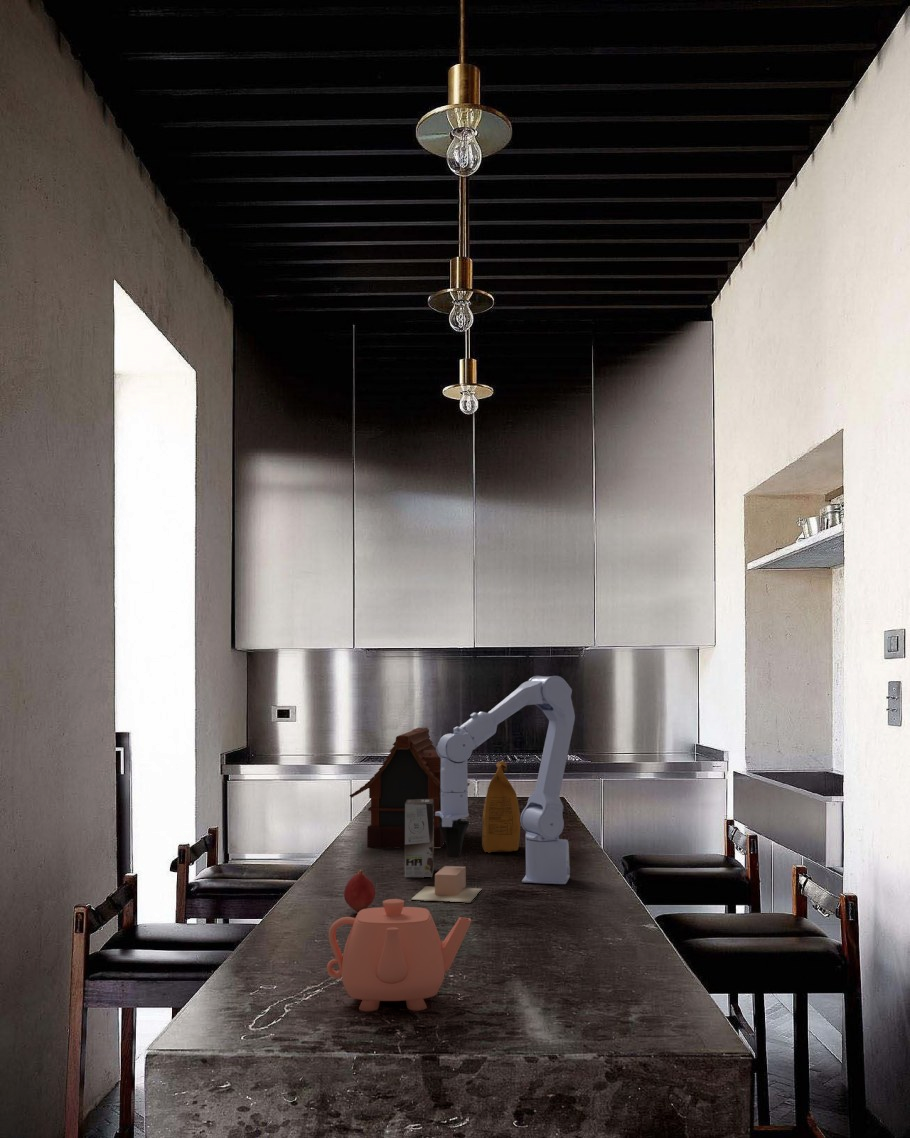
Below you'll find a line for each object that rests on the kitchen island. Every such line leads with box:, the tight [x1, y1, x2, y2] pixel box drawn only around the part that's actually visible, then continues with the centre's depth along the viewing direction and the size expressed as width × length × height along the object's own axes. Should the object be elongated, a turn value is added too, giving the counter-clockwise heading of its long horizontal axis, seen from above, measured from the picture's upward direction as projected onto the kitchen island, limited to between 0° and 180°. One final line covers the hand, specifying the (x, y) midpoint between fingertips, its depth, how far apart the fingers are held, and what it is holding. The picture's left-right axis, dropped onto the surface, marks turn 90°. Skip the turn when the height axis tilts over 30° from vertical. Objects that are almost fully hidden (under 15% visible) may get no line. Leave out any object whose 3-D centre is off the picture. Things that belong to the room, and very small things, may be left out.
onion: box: [343, 869, 376, 914], centre depth 192 cm, size 6×6×8 cm
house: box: [349, 727, 471, 849], centre depth 277 cm, size 35×28×29 cm
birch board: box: [410, 885, 483, 902], centre depth 205 cm, size 12×12×1 cm
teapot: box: [326, 898, 472, 1012], centre depth 141 cm, size 16×17×14 cm
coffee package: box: [481, 760, 521, 854], centre depth 258 cm, size 10×12×22 cm
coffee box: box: [404, 799, 435, 878], centre depth 229 cm, size 9×6×16 cm
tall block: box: [434, 865, 467, 896], centre depth 209 cm, size 4×4×9 cm
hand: (454, 857), depth 213 cm, fingers closed
